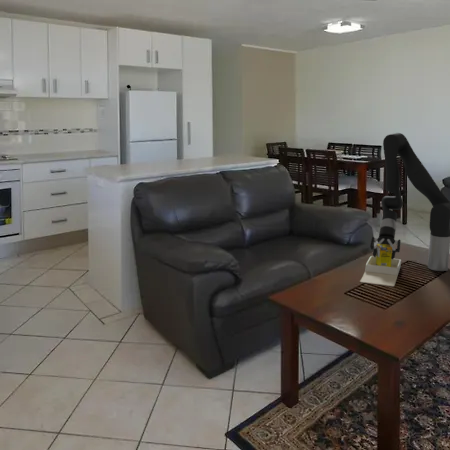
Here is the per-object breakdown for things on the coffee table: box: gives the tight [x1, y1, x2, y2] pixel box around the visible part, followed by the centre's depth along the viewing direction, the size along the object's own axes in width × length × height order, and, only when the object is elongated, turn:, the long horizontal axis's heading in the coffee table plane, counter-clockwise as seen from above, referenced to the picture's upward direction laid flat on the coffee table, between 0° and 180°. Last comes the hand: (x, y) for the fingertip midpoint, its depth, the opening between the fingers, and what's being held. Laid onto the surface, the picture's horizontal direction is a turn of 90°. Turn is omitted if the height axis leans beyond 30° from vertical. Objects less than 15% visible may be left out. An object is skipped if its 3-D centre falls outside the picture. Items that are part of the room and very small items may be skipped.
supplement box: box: [376, 243, 392, 267], centre depth 234 cm, size 6×6×11 cm
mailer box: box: [359, 255, 402, 288], centre depth 228 cm, size 15×30×4 cm, turn 155°
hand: (383, 257), depth 232 cm, fingers closed on supplement box, 7 cm apart
